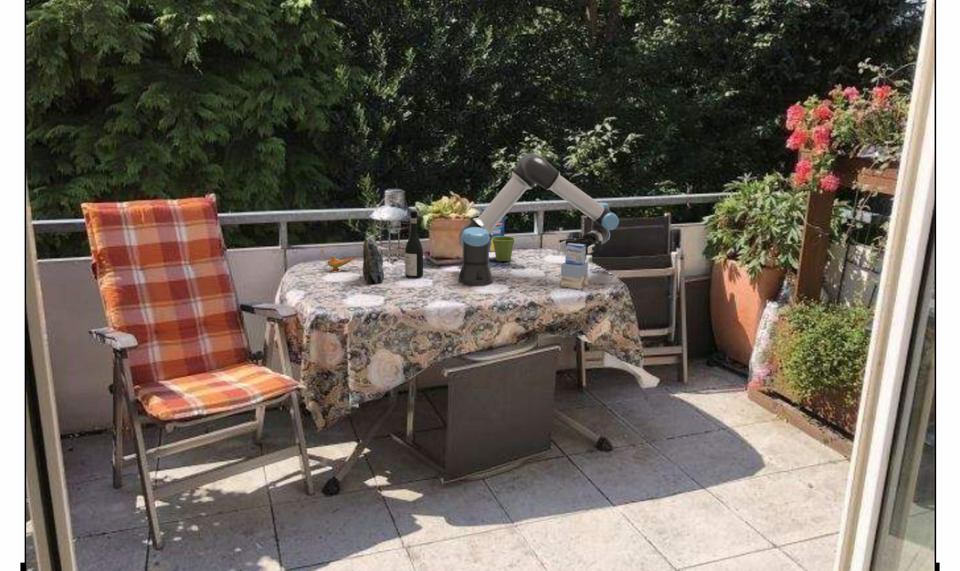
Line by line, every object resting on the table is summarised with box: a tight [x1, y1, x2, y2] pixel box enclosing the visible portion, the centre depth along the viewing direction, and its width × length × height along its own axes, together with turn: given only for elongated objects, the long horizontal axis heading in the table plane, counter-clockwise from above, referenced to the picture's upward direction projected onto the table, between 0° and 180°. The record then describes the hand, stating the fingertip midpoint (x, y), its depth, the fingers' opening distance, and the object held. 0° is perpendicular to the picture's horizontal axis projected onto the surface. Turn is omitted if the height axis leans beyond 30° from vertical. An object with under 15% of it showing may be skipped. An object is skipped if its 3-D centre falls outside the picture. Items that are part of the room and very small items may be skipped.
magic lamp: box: [318, 247, 359, 272], centre depth 360 cm, size 7×18×11 cm, turn 96°
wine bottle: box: [404, 210, 424, 279], centre depth 349 cm, size 8×8×30 cm
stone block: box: [362, 234, 385, 285], centre depth 344 cm, size 18×9×20 cm, turn 3°
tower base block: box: [560, 273, 589, 290], centre depth 341 cm, size 9×9×5 cm
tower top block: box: [560, 262, 589, 278], centre depth 340 cm, size 9×9×5 cm
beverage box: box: [481, 207, 506, 253], centre depth 407 cm, size 7×11×22 cm, turn 116°
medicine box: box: [564, 243, 587, 265], centre depth 338 cm, size 8×4×9 cm, turn 67°
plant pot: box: [492, 235, 516, 262], centre depth 385 cm, size 12×12×11 cm
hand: (573, 248), depth 335 cm, fingers open, 13 cm apart
